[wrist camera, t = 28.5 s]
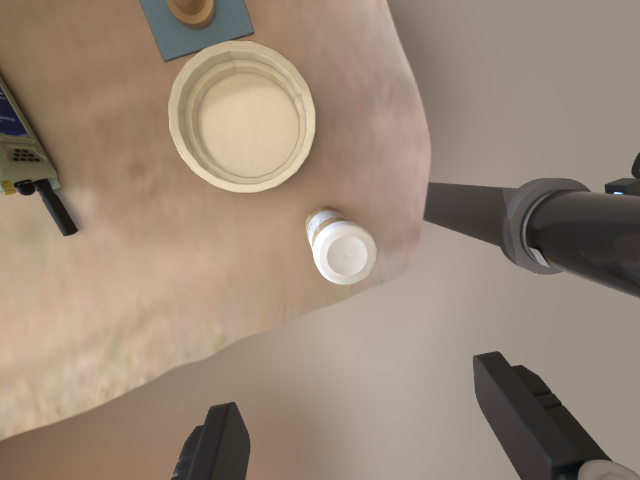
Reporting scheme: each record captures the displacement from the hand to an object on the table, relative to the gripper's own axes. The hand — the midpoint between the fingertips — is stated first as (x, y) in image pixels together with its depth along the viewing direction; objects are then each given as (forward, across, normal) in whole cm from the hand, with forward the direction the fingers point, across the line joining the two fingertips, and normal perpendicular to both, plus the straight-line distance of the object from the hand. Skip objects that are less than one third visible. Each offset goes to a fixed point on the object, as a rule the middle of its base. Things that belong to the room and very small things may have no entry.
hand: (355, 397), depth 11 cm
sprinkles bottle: (+27, 0, +3) cm, 27 cm away
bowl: (+28, +6, -9) cm, 30 cm away
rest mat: (+29, +8, -20) cm, 36 cm away
